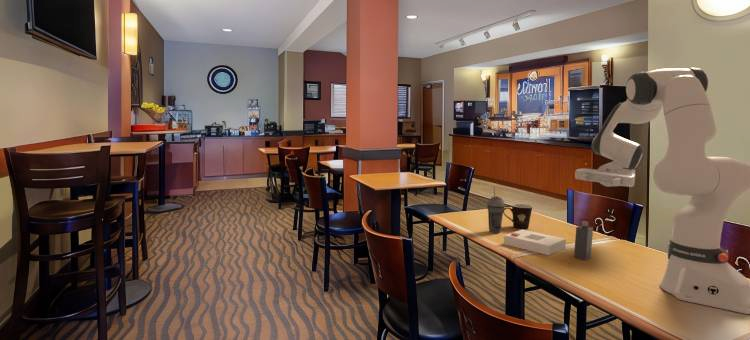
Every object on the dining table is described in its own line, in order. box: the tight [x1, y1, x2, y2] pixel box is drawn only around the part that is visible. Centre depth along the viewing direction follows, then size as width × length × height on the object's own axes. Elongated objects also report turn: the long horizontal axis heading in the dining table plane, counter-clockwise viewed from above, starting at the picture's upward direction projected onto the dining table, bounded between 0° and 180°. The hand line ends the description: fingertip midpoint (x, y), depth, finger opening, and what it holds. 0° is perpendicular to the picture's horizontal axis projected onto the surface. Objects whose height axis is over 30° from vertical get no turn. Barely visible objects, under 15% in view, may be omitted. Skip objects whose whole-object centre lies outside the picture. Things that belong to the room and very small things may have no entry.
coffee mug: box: [503, 203, 533, 230], centre depth 195 cm, size 12×9×10 cm
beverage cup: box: [486, 185, 506, 235], centre depth 185 cm, size 7×7×20 cm
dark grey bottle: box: [573, 220, 594, 261], centre depth 153 cm, size 4×4×13 cm
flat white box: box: [503, 229, 567, 256], centre depth 166 cm, size 18×14×4 cm
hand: (598, 180), depth 158 cm, fingers open, 8 cm apart
